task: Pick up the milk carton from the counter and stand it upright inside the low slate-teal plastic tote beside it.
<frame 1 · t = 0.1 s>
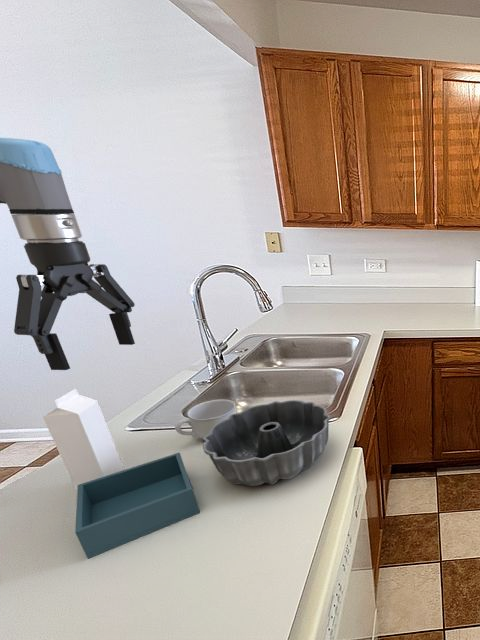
hand: (96, 355, 76), 31 cm above the table, tool pointing down, fingers open, 13 cm apart
tote: (143, 510, 80), on the table
milk: (102, 483, 88), on the table
teacup: (212, 437, 106), on the table
bundt pan: (277, 462, 96), on the table
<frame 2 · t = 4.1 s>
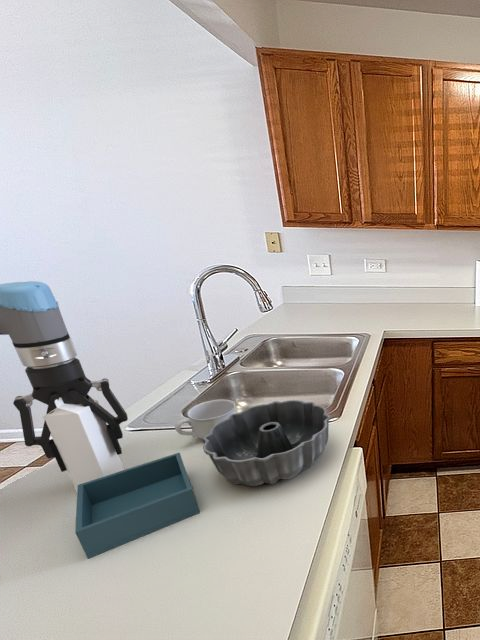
hand: (92, 459, 86), 6 cm above the table, tool pointing down, fingers closed on milk, 8 cm apart
milk: (102, 483, 88), on the table, touching gripper
everything else where it was.
when the fingers open (7 cm above the table, at t = 11.4 s): milk stays where it is, resting on tote.
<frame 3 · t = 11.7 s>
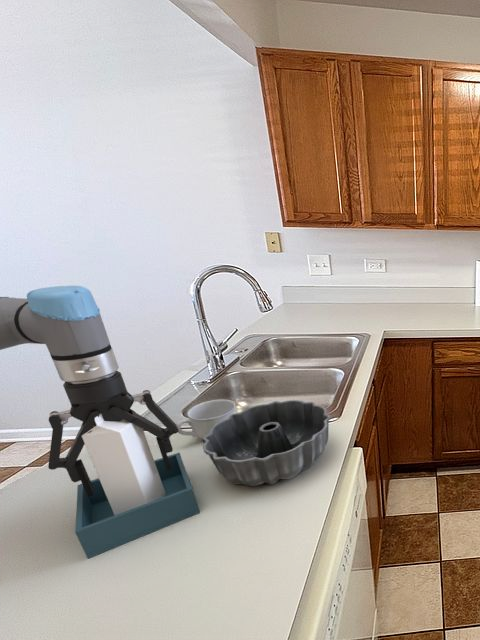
hand: (131, 478, 77), 8 cm above the table, tool pointing down, fingers open, 11 cm apart
milk: (142, 507, 80), point 1 cm above the table, touching tote
everything else where it was.
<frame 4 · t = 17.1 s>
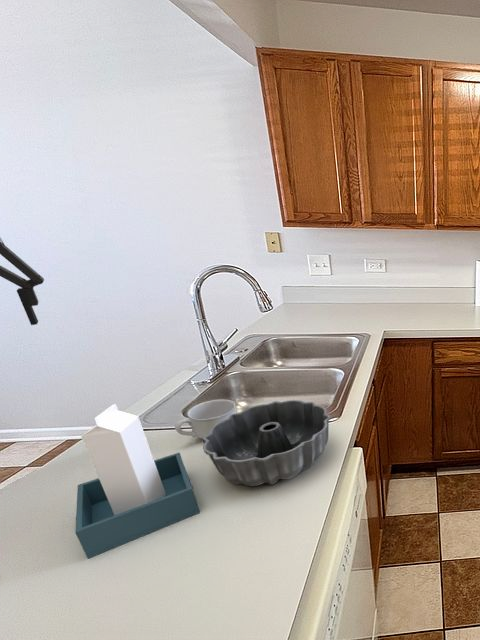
nothing on the table moved.
at the end: milk inside the target area in the tote (0.0 cm from its centre), point 0.8 cm above the tote's base; milk tilted 0°; the gripper is holding nothing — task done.
